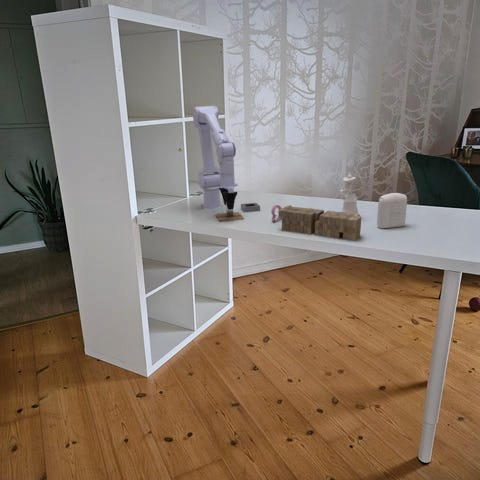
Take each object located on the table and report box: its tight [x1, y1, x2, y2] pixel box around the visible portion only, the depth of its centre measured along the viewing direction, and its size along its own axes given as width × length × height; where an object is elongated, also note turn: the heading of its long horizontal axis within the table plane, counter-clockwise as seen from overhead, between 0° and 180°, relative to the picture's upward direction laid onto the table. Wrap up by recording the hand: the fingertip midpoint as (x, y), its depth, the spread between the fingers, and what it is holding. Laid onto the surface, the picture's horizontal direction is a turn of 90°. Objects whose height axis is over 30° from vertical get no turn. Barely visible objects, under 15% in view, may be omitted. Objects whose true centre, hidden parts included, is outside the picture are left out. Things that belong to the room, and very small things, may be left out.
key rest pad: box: [214, 211, 245, 223], centre depth 178 cm, size 10×10×1 cm
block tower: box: [277, 204, 362, 242], centre depth 154 cm, size 8×8×29 cm
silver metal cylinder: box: [225, 203, 234, 217], centre depth 177 cm, size 3×3×6 cm
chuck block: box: [240, 202, 261, 213], centre depth 188 cm, size 7×7×2 cm
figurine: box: [339, 172, 360, 214], centre depth 168 cm, size 7×8×18 cm
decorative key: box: [271, 204, 283, 223], centre depth 176 cm, size 7×1×20 cm
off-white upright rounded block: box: [376, 192, 408, 229], centre depth 156 cm, size 10×4×12 cm, turn 103°
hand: (228, 206), depth 176 cm, fingers open, 7 cm apart
